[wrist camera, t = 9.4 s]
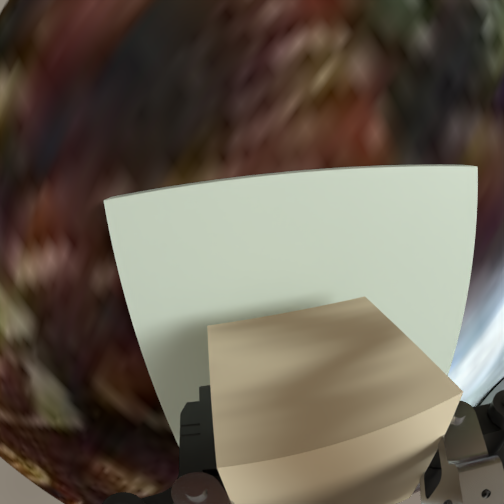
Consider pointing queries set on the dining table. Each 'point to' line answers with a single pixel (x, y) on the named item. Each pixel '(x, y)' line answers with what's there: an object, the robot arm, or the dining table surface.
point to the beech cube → (324, 407)
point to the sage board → (292, 258)
